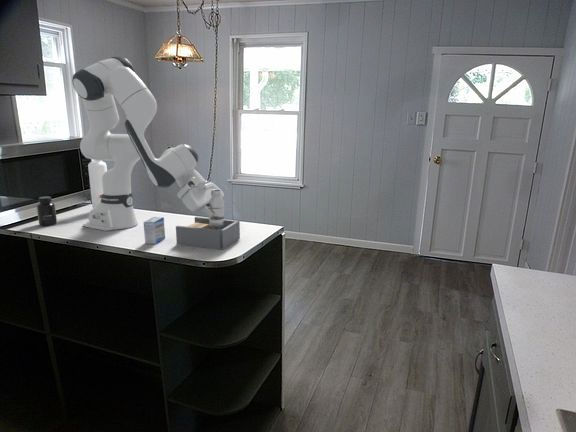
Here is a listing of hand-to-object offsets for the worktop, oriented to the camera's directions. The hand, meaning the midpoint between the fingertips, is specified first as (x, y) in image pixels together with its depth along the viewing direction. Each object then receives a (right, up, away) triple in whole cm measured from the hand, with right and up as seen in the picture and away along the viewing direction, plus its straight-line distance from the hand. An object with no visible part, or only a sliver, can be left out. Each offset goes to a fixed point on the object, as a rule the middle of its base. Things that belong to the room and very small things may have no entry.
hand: (218, 213), depth 153 cm
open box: (-4, -11, +4) cm, 12 cm away
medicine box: (-25, -11, +3) cm, 27 cm away
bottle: (-65, +1, +47) cm, 81 cm away
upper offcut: (-9, -8, +5) cm, 13 cm away
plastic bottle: (-1, -11, +3) cm, 12 cm away
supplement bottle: (-78, -5, +24) cm, 82 cm away
